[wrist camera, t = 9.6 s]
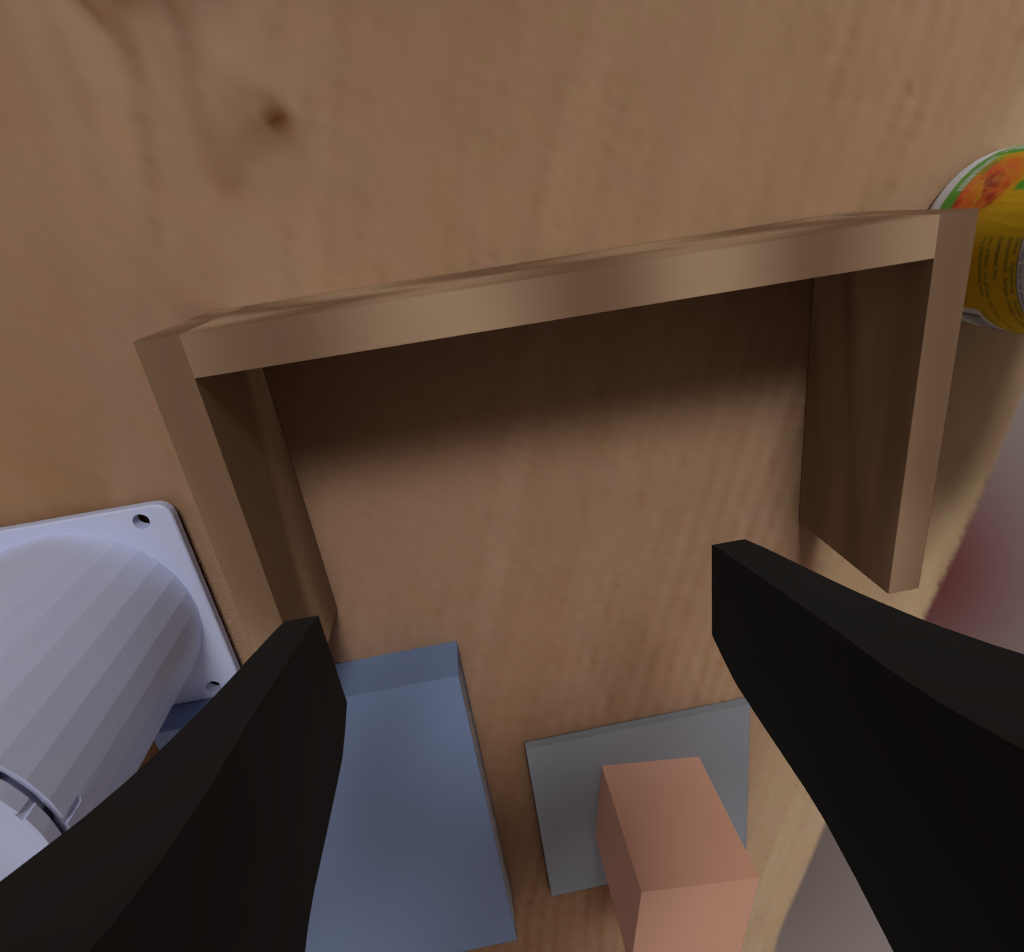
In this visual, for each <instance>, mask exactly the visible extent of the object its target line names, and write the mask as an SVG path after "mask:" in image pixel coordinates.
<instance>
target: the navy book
mask: <svg viewBox="0 0 1024 952" xmlns="http://www.w3.org/2000/svg"><path fill="white" fill-rule="evenodd" d="M335 667H336V670H337V673H338V676H339V679H340V682H341V685H342V688H343V691H344V694H345V697H346V700H347V712H346V727H345V739H344V749H343V758H342V763H341V768H340V773H339V778H338V783H337V788H336V793H335V797H334V802H333V807H332V811H331V816H330V821H329V825H328V830H327V835H326V839H325V844H324V848H323V853H322V858H321V862H320V867H319V872H318V876H317V881H316V885H315V890H314V896H313V901H312V907H311V913H310V918H309V925H308V933H307V941H306V949H305V952H463V951H468V950H472V949H477V948H482V947H486V946H491V945H496V944H500V943H505V942H510V941H514V940H517V933H516V924H515V915H514V907H513V898H512V892H511V888H510V883H509V879H508V874H507V869H506V865H505V860H504V856H503V851H502V846H501V842H500V837H499V833H498V828H497V824H496V819H495V814H494V810H493V805H492V801H491V796H490V791H489V787H488V782H487V778H486V773H485V768H484V764H483V759H482V755H481V750H480V746H479V741H478V736H477V732H476V727H475V723H474V718H473V713H472V709H471V704H470V700H469V695H468V690H467V686H466V681H465V677H464V672H463V668H462V663H461V658H460V654H459V649H458V645H457V641H453V642H448V643H443V644H438V645H432V646H427V647H422V648H417V649H412V650H407V651H401V652H396V653H391V654H386V655H381V656H375V657H370V658H365V659H360V660H355V661H349V662H344V663H339V664H335ZM212 698H213V697H212ZM212 698H206V699H201V700H196V701H191V702H186V703H181V704H175V705H173V706H172V708H171V710H170V711H169V713H168V715H167V717H166V719H165V721H164V723H163V724H162V726H161V728H160V730H159V732H158V734H157V736H156V737H155V739H154V741H155V743H156V745H157V747H158V749H159V751H160V750H161V749H162V748H163V747H164V746H165V745H166V744H167V743H168V742H169V741H170V740H171V739H172V738H173V737H174V736H175V735H176V734H177V733H178V732H179V731H180V730H181V729H182V728H183V727H184V726H185V725H186V724H187V723H188V722H189V721H190V720H191V719H192V718H193V717H194V716H195V715H196V714H197V713H198V712H199V711H200V710H201V709H202V708H203V707H204V706H205V705H206V704H207V703H208V702H209V701H210V700H211V699H212Z"/></svg>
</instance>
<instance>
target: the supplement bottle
mask: <svg viewBox="0 0 1024 952" xmlns="http://www.w3.org/2000/svg"><path fill="white" fill-rule="evenodd" d="M968 208H979V212H978V219H977V225H976V231H975V237H974V244H973V250H972V256H971V263H970V269H969V275H968V281H967V288H966V294H965V300H964V306H963V313H962V319H961V322H965V323H968V324H973V325H978V326H983V327H989V328H994V329H999V330H1005V331H1010V332H1016V333H1021V334H1024V145H1020V146H1015V147H1010V148H1005V149H1001V150H998V151H995V152H993V153H990V154H988V155H986V156H984V157H982V158H980V159H978V160H976V161H975V162H973V163H972V164H970V165H969V166H967V167H966V168H965V169H963V170H962V171H961V172H960V173H959V174H958V175H956V176H955V177H954V178H953V179H952V180H951V181H950V182H949V184H948V185H947V186H946V187H945V188H944V189H943V190H942V192H941V193H940V195H939V196H938V197H937V199H936V200H935V202H934V203H933V205H932V207H931V208H930V210H935V209H968Z"/></svg>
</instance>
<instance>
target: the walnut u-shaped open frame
mask: <svg viewBox="0 0 1024 952" xmlns="http://www.w3.org/2000/svg"><path fill="white" fill-rule="evenodd" d="M978 212H979V208H968V209H935V210H902V211H868V212H845V213H839V214H832V215H826V216H820V217H813V218H807V219H800V220H794V221H788V222H781V223H775V224H769V225H762V226H756V227H749V228H743V229H737V230H730V231H724V232H717V233H711V234H705V235H698V236H692V237H685V238H679V239H673V240H666V241H660V242H654V243H647V244H641V245H634V246H628V247H622V248H615V249H609V250H602V251H596V252H590V253H583V254H577V255H570V256H564V257H558V258H551V259H545V260H538V261H532V262H526V263H519V264H513V265H507V266H500V267H494V268H487V269H481V270H475V271H468V272H462V273H455V274H449V275H443V276H436V277H430V278H423V279H417V280H411V281H404V282H398V283H392V284H385V285H379V286H372V287H366V288H360V289H353V290H347V291H340V292H334V293H328V294H321V295H315V296H308V297H302V298H296V299H289V300H283V301H277V302H270V303H264V304H257V305H251V306H245V307H238V308H232V309H225V310H219V311H213V312H208V313H206V314H203V315H201V316H198V317H196V318H193V319H191V320H188V321H185V322H183V323H180V324H178V325H175V326H173V327H170V328H168V329H165V330H163V331H160V332H157V333H155V334H152V335H150V336H147V337H145V338H142V339H140V340H137V341H135V342H133V343H134V345H135V348H136V350H137V353H138V355H139V358H140V360H141V363H142V366H143V368H144V371H145V373H146V376H147V378H148V381H149V384H150V386H151V389H152V391H153V394H154V396H155V399H156V401H157V404H158V407H159V409H160V412H161V414H162V417H163V419H164V422H165V425H166V427H167V430H168V432H169V435H170V437H171V440H172V442H173V445H174V448H175V450H176V453H177V455H178V458H179V460H180V463H181V466H182V468H183V471H184V473H185V476H186V478H187V481H188V483H189V486H190V489H191V491H192V494H193V496H194V499H195V501H196V504H197V507H198V509H199V512H200V514H201V517H202V519H203V522H204V524H205V527H206V530H207V532H208V535H209V537H210V540H211V542H212V545H213V547H214V550H215V553H216V555H217V558H218V560H219V563H220V565H221V568H222V571H223V573H224V576H225V578H226V581H227V583H228V586H229V588H230V591H231V594H232V596H233V599H234V601H235V604H236V606H237V609H238V612H239V614H240V617H241V619H242V622H243V624H244V627H245V629H246V632H247V635H248V637H249V640H250V642H251V645H252V647H253V650H254V653H255V652H256V650H257V649H258V648H259V647H260V646H261V645H262V644H263V643H264V642H265V641H266V640H267V639H268V637H269V636H270V635H271V634H272V633H273V632H274V631H275V630H276V629H277V628H278V627H279V626H280V625H281V624H282V623H283V622H284V621H290V620H295V619H301V618H306V617H312V616H318V615H319V618H320V621H321V624H322V627H323V630H324V633H325V636H326V640H327V643H328V642H329V638H330V634H331V630H332V626H333V622H334V618H335V614H336V610H337V607H336V604H335V600H334V597H333V594H332V591H331V587H330V584H329V581H328V578H327V575H326V571H325V568H324V565H323V562H322V558H321V555H320V552H319V549H318V545H317V542H316V539H315V536H314V533H313V529H312V526H311V523H310V520H309V516H308V513H307V510H306V507H305V503H304V500H303V497H302V494H301V491H300V487H299V484H298V481H297V478H296V474H295V471H294V468H293V465H292V461H291V458H290V455H289V452H288V449H287V445H286V442H285V439H284V436H283V432H282V429H281V426H280V423H279V419H278V416H277V413H276V410H275V407H274V403H273V400H272V397H271V394H270V390H269V387H268V384H267V381H266V377H265V374H264V371H263V368H262V367H268V366H274V365H280V364H286V363H293V362H299V361H305V360H311V359H317V358H323V357H329V356H336V355H342V354H348V353H354V352H360V351H366V350H372V349H379V348H385V347H391V346H397V345H403V344H409V343H416V342H422V341H428V340H434V339H440V338H446V337H452V336H459V335H465V334H471V333H477V332H483V331H489V330H495V329H502V328H508V327H514V326H520V325H526V324H532V323H538V322H545V321H551V320H557V319H563V318H569V317H575V316H582V315H588V314H594V313H600V312H606V311H612V310H618V309H625V308H631V307H637V306H643V305H649V304H655V303H661V302H668V301H674V300H680V299H686V298H692V297H698V296H705V295H711V294H717V293H723V292H729V291H735V290H741V289H748V288H754V287H760V286H766V285H772V284H778V283H784V282H791V281H797V280H803V279H809V278H814V284H813V300H812V317H811V333H810V349H809V366H808V382H807V399H806V415H805V432H804V448H803V464H802V481H801V497H800V514H799V522H800V523H801V524H803V525H804V526H805V527H806V528H808V529H809V530H810V531H811V532H813V533H814V534H815V535H816V536H817V537H819V538H820V539H821V540H822V541H824V542H825V543H826V544H827V545H829V546H830V547H831V548H832V549H834V550H835V551H836V552H837V553H839V554H840V555H841V556H842V557H843V558H845V559H846V560H847V561H848V562H850V563H851V564H852V565H853V566H855V567H856V568H857V569H858V570H860V571H861V572H862V573H863V574H864V575H866V576H867V577H868V578H869V579H871V580H872V581H873V582H874V583H876V584H877V585H878V586H879V587H881V588H882V589H883V590H884V591H886V592H887V593H888V594H891V593H896V592H901V591H906V590H911V589H916V588H919V582H920V576H921V570H922V564H923V557H924V551H925V545H926V538H927V532H928V526H929V520H930V513H931V507H932V501H933V495H934V488H935V482H936V476H937V469H938V463H939V457H940V451H941V444H942V438H943V432H944V426H945V419H946V413H947V407H948V401H949V394H950V388H951V382H952V375H953V369H954V363H955V357H956V350H957V344H958V338H959V332H960V325H961V319H962V313H963V306H964V300H965V294H966V288H967V281H968V275H969V269H970V263H971V256H972V250H973V244H974V237H975V231H976V225H977V219H978Z"/></svg>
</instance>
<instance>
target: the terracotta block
mask: <svg viewBox="0 0 1024 952" xmlns="http://www.w3.org/2000/svg"><path fill="white" fill-rule="evenodd" d="M595 837H596V841H597V844H598V848H599V852H600V856H601V859H602V863H603V867H604V871H605V874H606V878H607V882H608V886H609V889H610V893H611V897H612V901H613V904H614V908H615V912H616V916H617V919H618V923H619V927H620V931H621V934H622V938H623V942H624V945H625V949H626V952H741V948H742V944H743V941H744V937H745V933H746V929H747V925H748V921H749V917H750V913H751V910H752V906H753V902H754V898H755V894H756V890H757V886H758V882H759V878H760V877H759V875H758V873H757V871H756V870H755V868H754V866H753V864H752V862H751V860H750V858H749V856H748V854H747V852H746V850H745V848H744V846H743V844H742V842H741V840H740V838H739V836H738V834H737V832H736V830H735V828H734V826H733V824H732V822H731V820H730V818H729V816H728V814H727V812H726V810H725V808H724V806H723V804H722V802H721V800H720V798H719V796H718V794H717V792H716V790H715V788H714V786H713V784H712V782H711V780H710V778H709V776H708V774H707V772H706V770H705V768H704V766H703V764H702V762H701V760H700V758H699V757H690V758H679V759H669V760H658V761H648V762H637V763H627V764H616V765H606V766H602V770H601V781H600V791H599V802H598V812H597V823H596V833H595Z"/></svg>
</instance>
